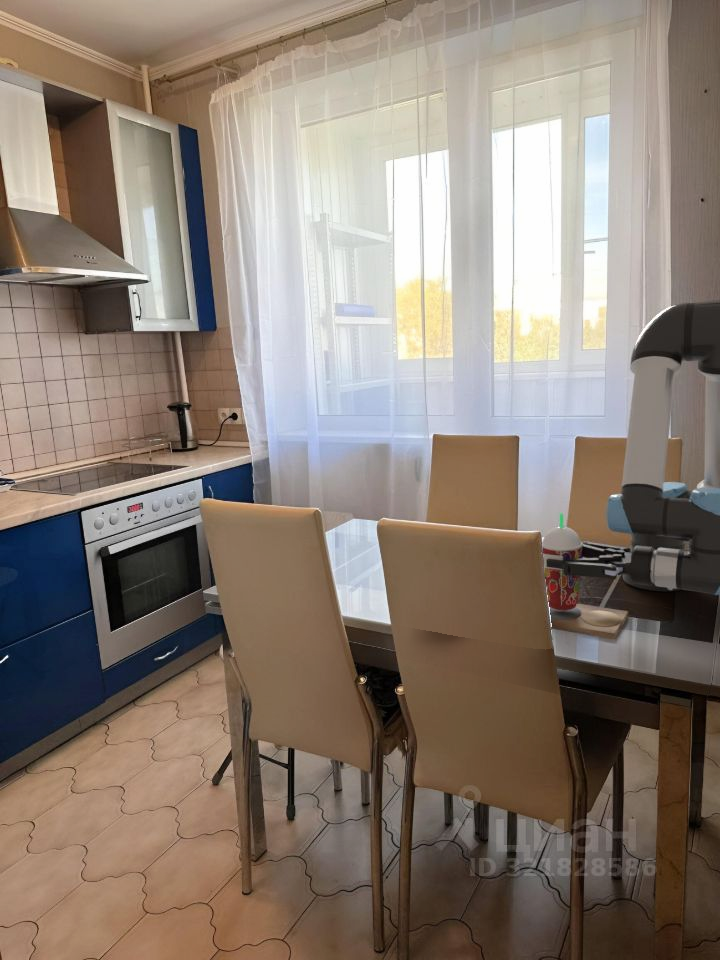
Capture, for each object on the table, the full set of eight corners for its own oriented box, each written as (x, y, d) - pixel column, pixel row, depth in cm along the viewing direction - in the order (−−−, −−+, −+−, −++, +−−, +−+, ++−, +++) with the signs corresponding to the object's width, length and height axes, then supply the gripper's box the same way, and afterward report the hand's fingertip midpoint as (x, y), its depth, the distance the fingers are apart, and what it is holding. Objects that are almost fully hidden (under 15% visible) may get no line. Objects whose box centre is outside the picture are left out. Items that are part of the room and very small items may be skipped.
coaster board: (552, 604, 149) (552, 598, 149) (627, 616, 140) (628, 610, 140) (534, 625, 139) (534, 618, 139) (614, 639, 130) (614, 632, 130)
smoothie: (585, 613, 136) (586, 518, 133) (543, 613, 138) (542, 519, 134) (579, 598, 145) (579, 508, 141) (539, 598, 146) (538, 509, 142)
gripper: (643, 603, 121) (522, 586, 134) (663, 568, 138) (554, 555, 151) (644, 564, 120) (521, 550, 132) (664, 533, 137) (554, 523, 149)
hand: (539, 553), depth 142 cm, fingers closed on smoothie, 8 cm apart
